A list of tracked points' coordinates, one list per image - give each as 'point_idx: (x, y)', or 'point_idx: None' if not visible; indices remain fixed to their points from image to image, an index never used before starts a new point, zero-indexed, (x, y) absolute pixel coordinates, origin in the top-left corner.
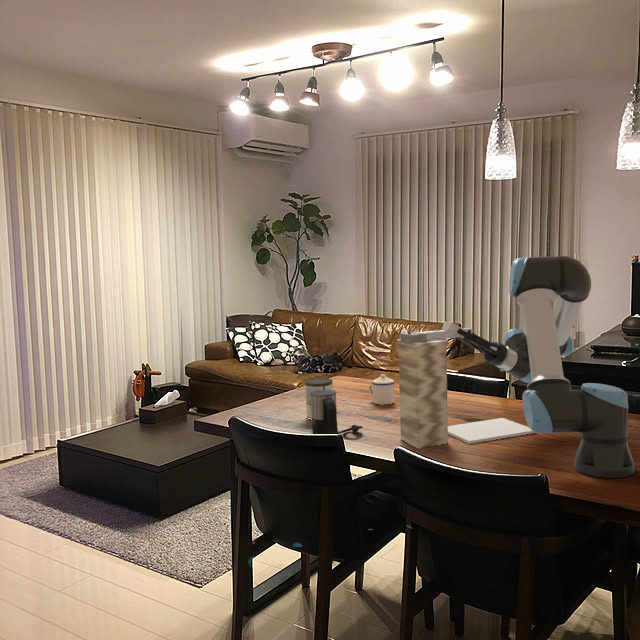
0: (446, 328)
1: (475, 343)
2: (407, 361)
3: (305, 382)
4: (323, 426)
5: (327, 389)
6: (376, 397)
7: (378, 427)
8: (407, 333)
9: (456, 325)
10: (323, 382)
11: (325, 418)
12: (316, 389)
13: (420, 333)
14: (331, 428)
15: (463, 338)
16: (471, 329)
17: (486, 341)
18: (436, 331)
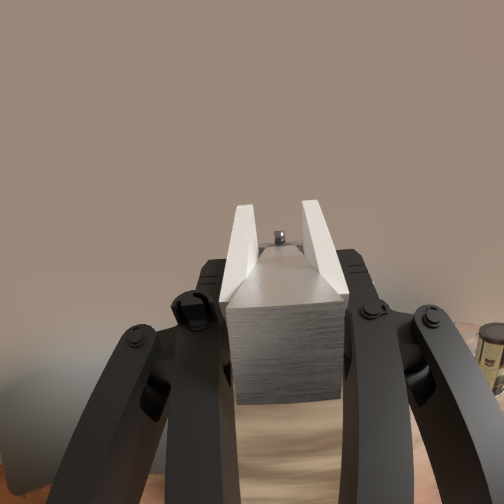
0: (304, 248)
1: (156, 434)
2: None
3: (487, 324)
4: None
5: (486, 349)
6: None
7: (426, 456)
8: (290, 242)
9: (234, 230)
10: (491, 335)
11: None
12: (478, 340)
13: (263, 246)
14: None
15: (345, 397)
16: (229, 316)
17: (64, 473)
18: (275, 251)
